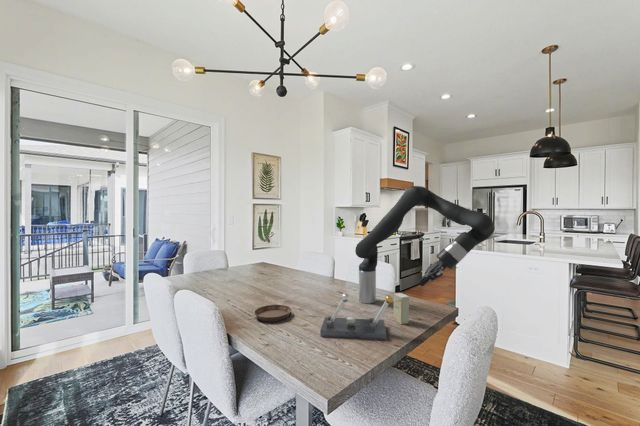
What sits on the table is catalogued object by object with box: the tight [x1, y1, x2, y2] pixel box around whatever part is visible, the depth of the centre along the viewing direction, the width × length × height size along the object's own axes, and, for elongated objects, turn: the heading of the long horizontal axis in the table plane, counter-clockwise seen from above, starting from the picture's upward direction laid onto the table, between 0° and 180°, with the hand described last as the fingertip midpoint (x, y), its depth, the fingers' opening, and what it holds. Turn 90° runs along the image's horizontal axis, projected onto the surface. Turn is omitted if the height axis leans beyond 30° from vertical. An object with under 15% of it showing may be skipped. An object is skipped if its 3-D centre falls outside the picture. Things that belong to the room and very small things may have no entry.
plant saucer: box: [253, 304, 292, 322], centre depth 142 cm, size 18×18×3 cm
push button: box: [346, 316, 356, 325], centre depth 124 cm, size 4×4×2 cm
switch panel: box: [319, 315, 387, 341], centre depth 124 cm, size 14×26×4 cm, turn 81°
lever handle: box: [372, 294, 394, 326], centre depth 122 cm, size 4×3×14 cm
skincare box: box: [392, 292, 410, 325], centre depth 134 cm, size 6×4×12 cm
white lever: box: [330, 292, 350, 323], centre depth 125 cm, size 4×3×14 cm
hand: (419, 284), depth 119 cm, fingers closed
